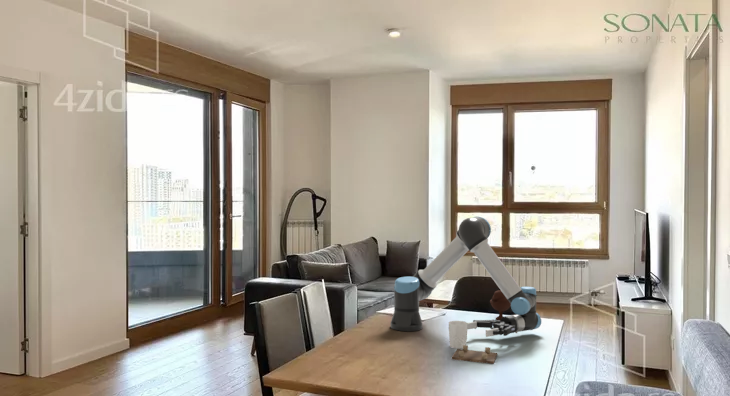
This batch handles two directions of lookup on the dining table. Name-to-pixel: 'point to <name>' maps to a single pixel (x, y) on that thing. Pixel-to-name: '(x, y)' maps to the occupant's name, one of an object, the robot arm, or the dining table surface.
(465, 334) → the white cup
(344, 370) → the dining table surface
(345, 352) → the dining table surface
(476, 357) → the holder
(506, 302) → the ice cream bowl
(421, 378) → the dining table surface
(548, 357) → the dining table surface
